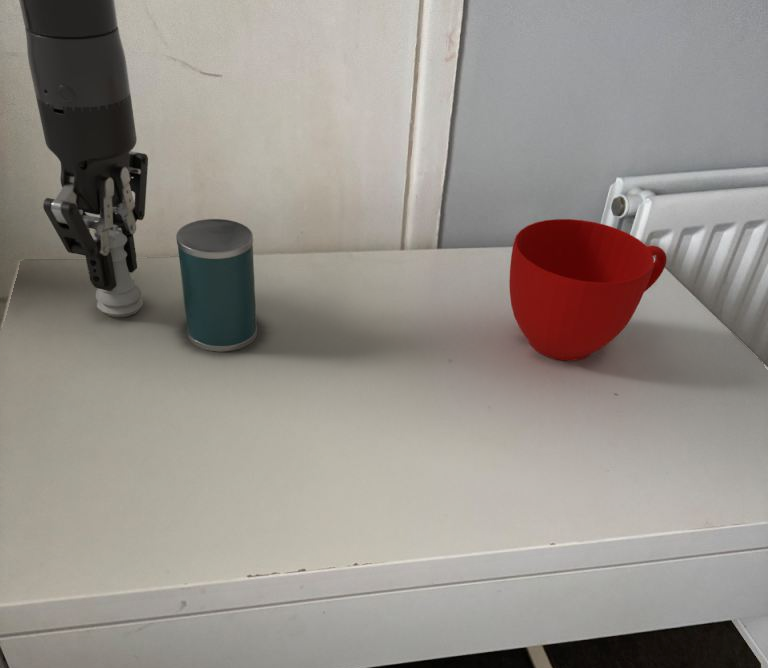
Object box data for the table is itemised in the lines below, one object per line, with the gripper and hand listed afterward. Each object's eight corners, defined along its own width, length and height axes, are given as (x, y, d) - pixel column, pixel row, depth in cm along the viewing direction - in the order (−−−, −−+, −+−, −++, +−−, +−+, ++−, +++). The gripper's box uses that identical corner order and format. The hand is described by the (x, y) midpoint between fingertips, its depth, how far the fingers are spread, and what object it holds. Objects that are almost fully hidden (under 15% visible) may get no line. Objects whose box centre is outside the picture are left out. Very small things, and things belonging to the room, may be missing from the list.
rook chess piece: (122, 291, 85) (109, 215, 79) (153, 306, 83) (142, 229, 78) (87, 308, 82) (71, 230, 77) (119, 323, 80) (105, 245, 75)
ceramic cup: (683, 357, 83) (717, 264, 76) (542, 391, 77) (565, 293, 70) (606, 295, 92) (630, 206, 85) (473, 321, 86) (488, 228, 79)
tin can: (174, 342, 79) (162, 243, 72) (206, 309, 84) (197, 213, 77) (239, 358, 78) (233, 258, 71) (268, 323, 83) (264, 227, 76)
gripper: (89, 58, 74) (119, 241, 86) (-11, 106, 64) (38, 305, 76) (165, 71, 73) (184, 255, 85) (75, 122, 63) (111, 322, 75)
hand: (115, 278), depth 81 cm, fingers closed on rook chess piece, 3 cm apart
